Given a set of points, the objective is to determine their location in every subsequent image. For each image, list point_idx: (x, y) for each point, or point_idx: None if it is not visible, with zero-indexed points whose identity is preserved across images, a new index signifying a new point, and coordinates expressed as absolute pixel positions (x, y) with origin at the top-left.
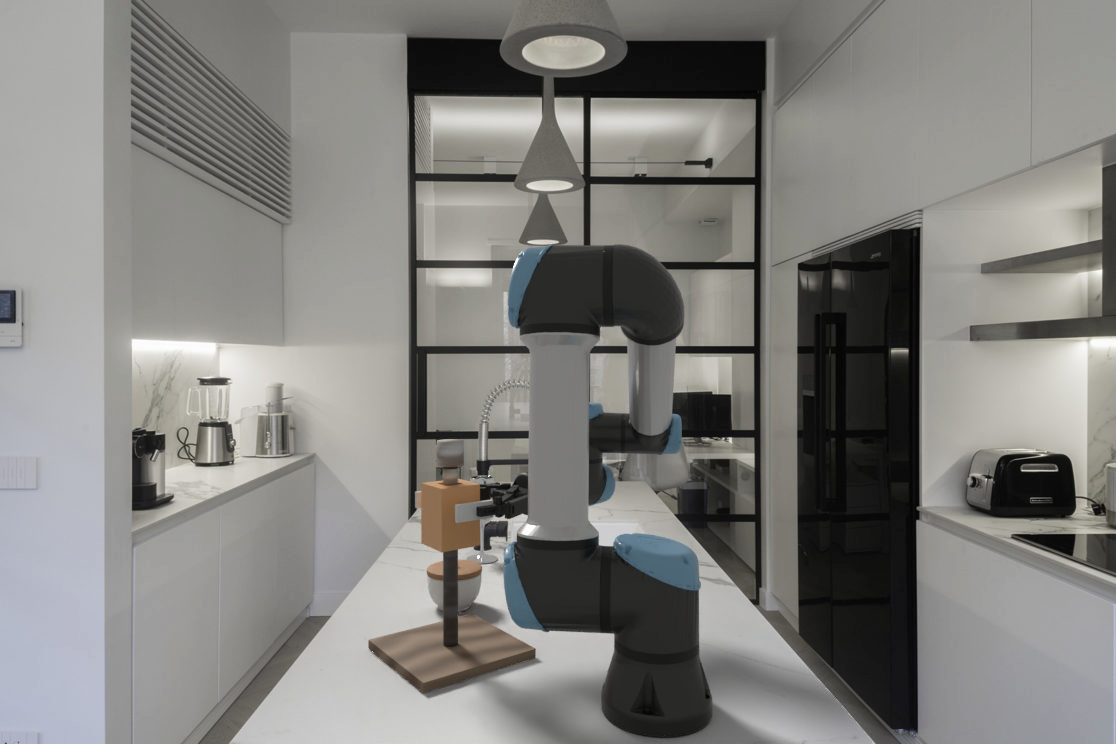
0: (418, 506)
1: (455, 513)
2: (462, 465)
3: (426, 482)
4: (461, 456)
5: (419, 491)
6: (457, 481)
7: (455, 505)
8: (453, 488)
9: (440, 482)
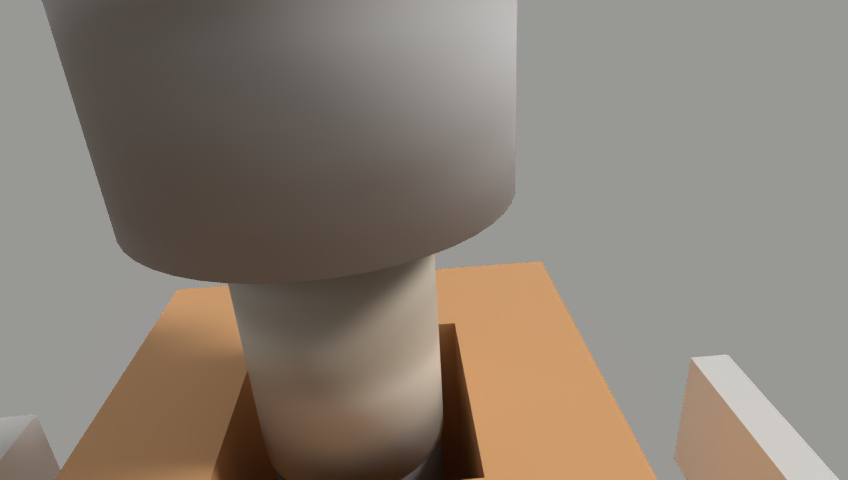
0: (678, 456)
1: (51, 466)
2: (118, 243)
3: (544, 284)
4: (67, 79)
5: (730, 376)
6: (262, 418)
7: (31, 419)
8: (134, 363)
9: (481, 351)
